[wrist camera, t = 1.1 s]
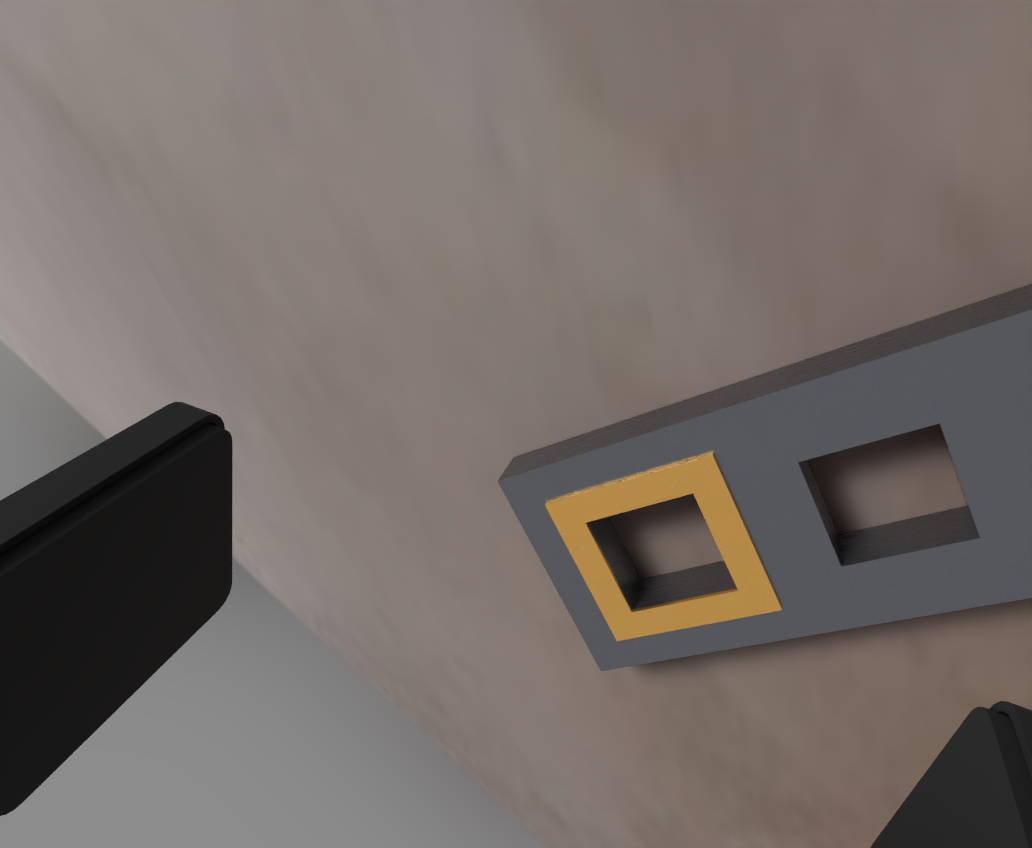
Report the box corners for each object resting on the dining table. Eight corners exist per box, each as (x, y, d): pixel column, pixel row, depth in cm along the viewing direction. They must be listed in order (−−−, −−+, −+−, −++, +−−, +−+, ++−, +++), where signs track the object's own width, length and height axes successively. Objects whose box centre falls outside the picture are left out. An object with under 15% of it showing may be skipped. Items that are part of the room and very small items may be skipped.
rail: (1350, 177, 24) (1410, 190, 22) (1402, 488, 27) (1459, 529, 25) (513, 457, 38) (496, 483, 36) (610, 639, 42) (600, 673, 39)
